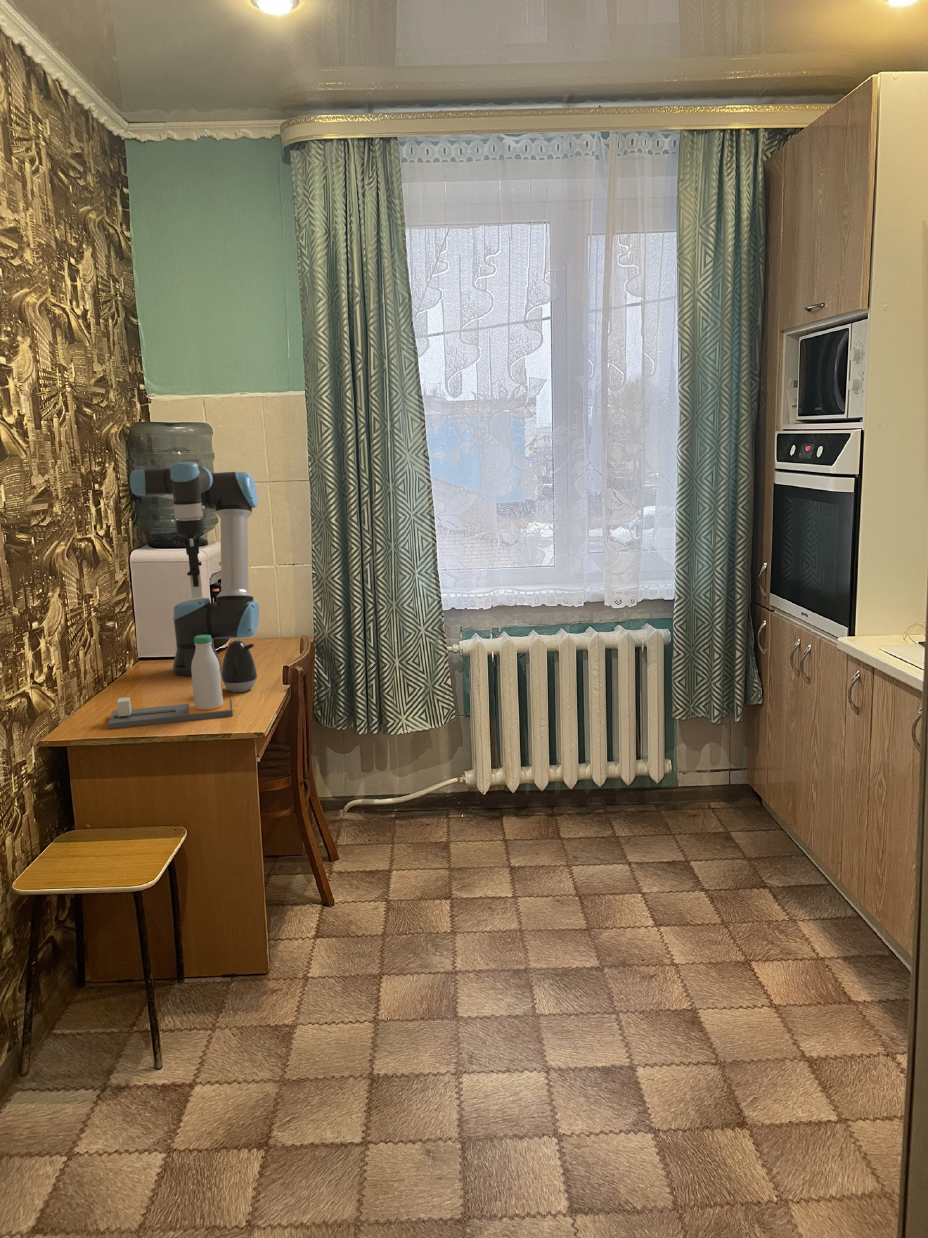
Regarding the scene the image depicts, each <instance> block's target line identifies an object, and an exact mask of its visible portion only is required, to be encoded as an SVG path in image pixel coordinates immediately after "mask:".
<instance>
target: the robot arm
mask: <svg viewBox="0 0 928 1238" xmlns="http://www.w3.org/2000/svg"><path fill="white" fill-rule="evenodd" d="M129 486H130V489H131V492H132V493H133V494H134V495H135V496H143V497H146V496H154V497H159V498H160V497H161V498H165V499H166V498H167V499H171V500H173V511H174V518H175V519H176V521H175V527H176V528H175V529H176V533H177V534H178V535H186V538H184V539H183V540H184V547H185V551H186V552H185V553H186V555H187V556H188V563H189V565H188V566H189V571H187V572H186V573H187V574H186V576H189V579H190V589H191V599H189V600H185V601H181V602H179V603H177V604H176V605H174V607H173V624H174V625H173V626H174V634H175V635H174V636H175V643H176V652H175V654H174V655H175V656H174V660H173V664H172V670H173V674H174V675H176V676H180V677H181V676H182V677H183V676H184V677H192V672H191V665H192V660H193V657H194V654H195V650H196V645H195V642H194V637H195V636H198V635H210V636H211V638H212V644H211V647H212V649H213V652H214V653H215V655H216V657H217V659H218V661H219V665H220V670H221V669H222V662H221V659H220V656H219V655H218V653H217V650H216V648H215V644H214V639H244V638H250V637H252V636H254V635H255V633H256V631H257V629H258V626H259V620H260V605H259V603H258V602H257V601H255V600H254V595H253V594H252V593H250V591H249V559H248V558H249V545H248V544H249V541H248V540H249V539H248V538H249V537H248V536H249V534H248V531H249V529H248V519H249V517H250V516H251V515H252V514H253V509H255V508H256V507H257V506H258V501H259V500H258V491H257V487H256V482H255V480H254V478H253V476H252V475H251V474H250V473H249V472H247V471H245V472H244V471H226V472H225V471H224V472H211V471H210V470H209V469H208V468H207V467H205V466H203V465H202V466H201V465H199V464H198V463H197V462H195V461H183V462H182V461H181V462H173V463H172V464H171V465H170V467H167V468H166V467H165V468H140V469H134V470H132V471H131V472H130V475H129ZM203 510H215V515H217V516H218V517H219V519H220V524H219V525H220V581H221V582H220V584H221V585H220V586H221V587H220V593H218V595H216V602H211V600H210V598H209V597H203V592H202V591H203V590H202V588H203V587H202V579H201V568H200V567H201V566H202V561H200V559H199V554H200V538H198V537H197V534H201V533H203V532H205V521H204V519H203V518H202V517H203V516H204V515H203V514H204V513H203Z"/></svg>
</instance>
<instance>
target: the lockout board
mask: <svg viewBox="0 0 928 1238" xmlns="http://www.w3.org/2000/svg"><path fill="white" fill-rule="evenodd" d="M233 716H234V715H233V701H232V699H229V698H228V699H223V706H222V707H219V708H216V709H212V710H198V709H196V708H195V704H194V702H191V703H190V702H188V703H183V704H180V703H179V704H172V705H171V704H169V705H163V706H161V705H160V706H152V707H142V708H140V707H139V708H133V709H132V708H131V715H129V716H118V710H112V712H111V714H110V718H109V720H108V723H107V725H108V729H109V730H111V729H112V730H113V729H121V728H130V727H140V726H149V725H159V724H160V725H161V724H168V723H179V722H188V721H199V720H206V719H216V718H224V717H225V718H226V717H227V718H229V717H233Z"/></svg>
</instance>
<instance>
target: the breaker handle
mask: <svg viewBox="0 0 928 1238" xmlns="http://www.w3.org/2000/svg"><path fill="white" fill-rule="evenodd" d="M116 706H117V707H116V708H117V711H118V716H129V715H131V709H132V705H131V697H128V696H127V697H119V698H117V701H116Z"/></svg>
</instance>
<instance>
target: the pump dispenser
mask: <svg viewBox="0 0 928 1238" xmlns="http://www.w3.org/2000/svg"><path fill="white" fill-rule="evenodd" d="M254 646H255V645H254V643H249V644H246V643H245V642H243V641H242V640H234V641H232V642H230V643H229V644H228V646H227V648H226V651H225V652H224V653H225V654H224V657H223V662H222V666H221V669H222V670H221V682H223V685H224V687H226V689H227V690H228V691H230V692H232V693H246V692H248V691H250V690H251V689H253V688H254V687H255V684H256V681H257V678H258V673H257V667H256V664H255V660H254V658H253V655H252V653H251V651H250V649H252V648H253V647H254Z"/></svg>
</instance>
